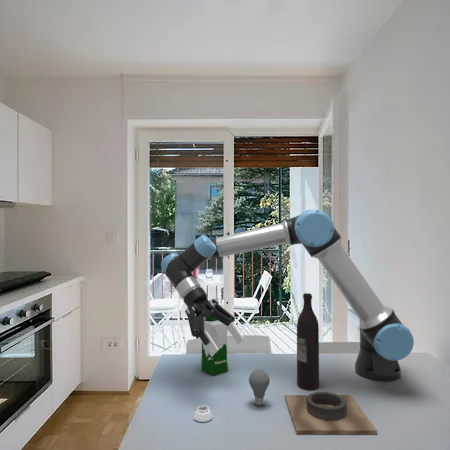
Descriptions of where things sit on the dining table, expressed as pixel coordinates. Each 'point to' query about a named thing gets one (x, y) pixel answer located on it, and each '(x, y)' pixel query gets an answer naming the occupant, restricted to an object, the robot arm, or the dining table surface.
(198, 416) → the lidless jar
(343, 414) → the lamp holder
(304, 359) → the wine bottle
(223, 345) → the milk carton
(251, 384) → the light bulb
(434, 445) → the dining table surface
